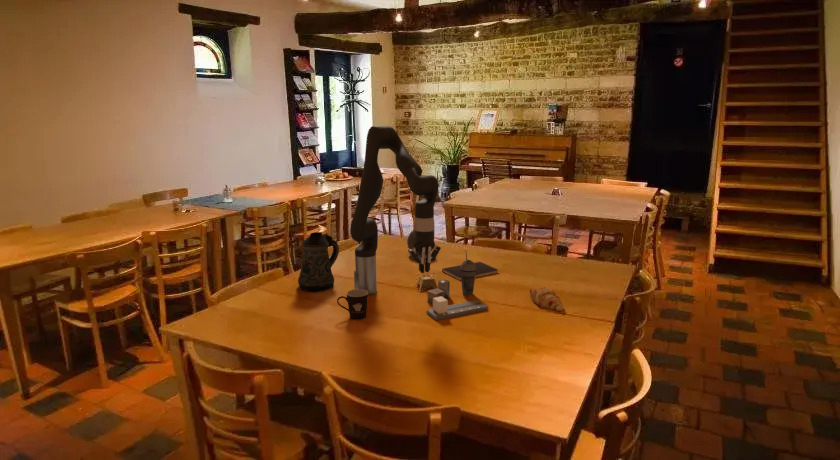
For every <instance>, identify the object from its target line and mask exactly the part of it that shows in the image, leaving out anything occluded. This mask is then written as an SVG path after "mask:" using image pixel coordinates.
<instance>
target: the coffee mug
mask: <svg viewBox="0 0 840 460" xmlns="http://www.w3.org/2000/svg"><path fill="white" fill-rule="evenodd" d="M340 299H345V301H346V302H347V306H348V308H347V307H346V306H344V305H341V303H340V302H339V300H340ZM368 300H369V295H368V291H367V290H363V289H355V288H353V289H351V290H348V291H346V296H342V295H341V296H339V297H337V301H336V303H337V305H338V306H339V307H341V308H343V309H344V310H346V311H348V313H349V317H350V319H352V320H353V321H354V320H355V321H360V320H364V319H366V318H367V315H368V314H367V313H368V311H367V310H368V302H369V301H368Z"/></svg>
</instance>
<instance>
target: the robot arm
mask: <svg viewBox="0 0 840 460" xmlns="http://www.w3.org/2000/svg"><path fill="white" fill-rule="evenodd" d="M380 150H390V151H392V152H393V153H394V155H395V165H396V167H397V169H398V170H399V172H400V173H401V174H402V175H403V177H404V178H405V179H406V182H407V184H408V187H409V190H410V191H411V192H412V194H414V195H415V196H423V197H422V199H420V200H418V201H416V202H415V204H414V205H415V206H414V213H415V214H414V216H415V218H414V229H415V244H414V247H413V248H412V249H409V248H408V250H407V252H408V254H409V255H410V257H411V258H412V259H413V262H415V263H417V264H418V271H419V272H420V273H422V274H425V273H430V271H431V262H435V260H436V258H437V257H438V254H439V253H440V251H441V249H442V248H441V247H440V246H438V245H436V243H435V204H436V201H437V197H438V192H439V181H438V179H437V177H436V176H435V175H433V174H429V175H423V168H422V167H421V165H420V164H419V163H418V162H417V161H416V160H415V159H414V157H412V155H411V154H410V152H409V151H408V149H407V148H406V146H405V144H404V142H403V141H402V139H401V137H400V136H399V134H398V132H397V131H396V129H394V128H393V126H390V125H372V126H370V128H369V129H368V131H367V135H366V143H365V153H364V154H365V155H364V163H363V168H362V174H361V177H360V178H361V179H360V182H359V183H360V184H359V190H358V196H357V200H356V206H355V210H354V214H353V216H352V220H351V223H350V230H349V231H350V232H349V233H350V236H351V239H352V240H353V241H354V242H360V244H359V245H358V246H357V247H355V249H354V263H355V264H354V267H355V270H354V271H353V277H354V280H353V283H354V289H363V290H367V291H368V296H369V295H373V294H376V293H377V292H378V291H377V290H378V284H377V280H378V279H377V250H378V243H379V242H378V241H379V239H378V237H379V230H378V224H377V222H376V220H375V219H374V218H372V217H371V218H370V217H369V214H370V213H371V211H372V209H373V208H374V206H375V205H376V204H377V202H378V201H379V199H380V197H381V194H382V190H383V186H384V177H383V174H382V171H381V168H380V166H379V163H378V162H379V161H378V159H379V158H378V157H379V151H380ZM415 250H416V251H417V252H418V255H416V254H415V253H416V251H415Z"/></svg>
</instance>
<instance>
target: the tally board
mask: <svg viewBox="0 0 840 460" xmlns="http://www.w3.org/2000/svg"><path fill="white" fill-rule="evenodd" d="M488 307H489V306H488V305H486V304H485V303H483V302H482V301H480V300H478V299H476V300H475V299H474V300H469V301H465V302H459V303H455V304H448V312H446V313H441V314H438V313H437V312H435V311H434V310H433V308H428V309H426V314H427V315H429V316H430V317H431V318H432V319H434V320H435V321H439V320H444V319H449V318H454V317H459V316H464V315H469V314H473V313H478V312H483V311H484V312H485V311H488V310H489V308H488Z"/></svg>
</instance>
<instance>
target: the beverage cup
mask: <svg viewBox="0 0 840 460" xmlns="http://www.w3.org/2000/svg"><path fill="white" fill-rule="evenodd" d="M464 253H465V260H463V262H462V263H461V264H460V265H461V267H460V272H461V279H462V280H461V290H462V291H461V292H462V296H466V297H471V296H473V295H474V291H475V290H474V288H475V281H476V277H475V274H476V265H475V261H472V260H470V259H468V253H467V250H465V251H464Z"/></svg>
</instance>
